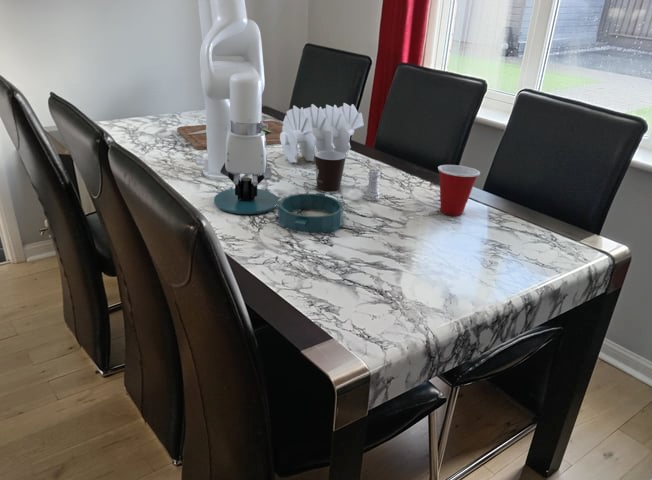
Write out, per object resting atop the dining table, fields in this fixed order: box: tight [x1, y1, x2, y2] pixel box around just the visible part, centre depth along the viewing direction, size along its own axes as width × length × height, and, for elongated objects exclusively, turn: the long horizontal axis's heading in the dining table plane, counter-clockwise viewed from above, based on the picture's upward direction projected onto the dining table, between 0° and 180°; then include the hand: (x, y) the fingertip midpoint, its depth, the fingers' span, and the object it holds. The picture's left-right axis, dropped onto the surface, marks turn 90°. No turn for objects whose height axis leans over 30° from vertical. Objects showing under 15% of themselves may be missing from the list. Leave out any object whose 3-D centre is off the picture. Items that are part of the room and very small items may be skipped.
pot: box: [277, 192, 344, 234], centre depth 142 cm, size 16×21×4 cm
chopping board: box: [171, 120, 283, 151], centre depth 208 cm, size 45×27×3 cm, turn 117°
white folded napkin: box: [280, 102, 365, 165], centre depth 185 cm, size 18×18×25 cm
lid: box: [213, 176, 279, 215], centre depth 148 cm, size 17×17×7 cm
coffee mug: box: [314, 150, 347, 193], centre depth 163 cm, size 12×9×10 cm
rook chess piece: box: [363, 168, 381, 202], centre depth 158 cm, size 4×4×8 cm
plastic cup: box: [437, 164, 481, 217], centre depth 151 cm, size 11×11×12 cm
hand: (246, 197), depth 149 cm, fingers closed on lid, 2 cm apart
